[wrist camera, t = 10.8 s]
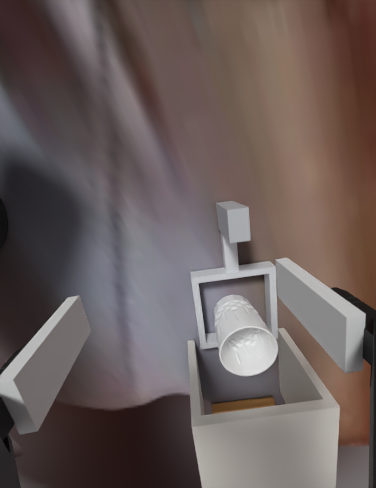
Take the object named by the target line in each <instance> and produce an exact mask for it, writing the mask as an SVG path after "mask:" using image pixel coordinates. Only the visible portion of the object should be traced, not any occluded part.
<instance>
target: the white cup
mask: <svg viewBox="0 0 376 488" xmlns="http://www.w3.org/2000/svg"><path fill="white" fill-rule="evenodd" d="M214 320H215V323H214V324H215V332H216V338H217V344H218V350H219V357H220V361H221V363H222V365H223V366H224V367H225V368H226V369H227V370H228V371H229V372H231V373H233V374H235V375H239V376H253V375H257V374H260V373H262V372H264V371H265V370H267V369H268V368H269V367H270V366H271V365H272V364H273V363H274V361H275V359H276V357H277V354H278V344H277V341H276V339H275V337H274V336H273V334H272V333H271V331H270V330H269V328H268V327H267V325H266V324H265V322H264V321H263V320H262V318H261V317H260V315H259V314H258V313H257V311H256V310H255V309H254V308H253V307H252V305H251V304H250V302H249V301H248V300H247V299H246V298H244V297H242V296H240V295H229V296H226V297H223V298H222V299H221V300H220V301H218V302H217V304H216V306H215V308H214Z"/></svg>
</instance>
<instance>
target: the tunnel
mask: <svg viewBox="0 0 376 488" xmlns="http://www.w3.org/2000/svg"><path fill="white" fill-rule="evenodd" d="M188 359H189V380H190V400H191V420H192V431H193V437H194V443H195V449H196V454H197V460H198V467H199V472H200V478H201V484H202V488H336V468H337V451H338V432H339V412H340V407H339V405H338V404H337V402H336V401H335V400H334V398H333V397H332V395H331V394H330V392H329V391H328V390H327V388H326V387H325V385H324V384H323V382H322V381H321V380H320V378H319V377H318V375H317V374H316V373H315V371H314V370H313V368H312V367H311V365H310V364H309V363H308V361H307V360H306V358H305V357H304V356H303V354H302V353H301V351H300V350H299V348H298V347H297V346H296V344H295V343H294V341H293V340H292V338H291V337H290V336H289V334H288V333H287V331H286V330H285V329H284V328H279V329H278V361H279V389H280V393H281V395H282V397H283V399H284V401H285V403H286V404H283V405H276V406H269V407H261V408H254V409H246V410H239V411H232V412H224V413H217V414H210V415H205V413H204V404H203V396H202V389H201V382H200V376H199V369H198V362H197V355H196V348H195V342H194V340H191V341H188Z"/></svg>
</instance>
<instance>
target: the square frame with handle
mask: <svg viewBox="0 0 376 488" xmlns="http://www.w3.org/2000/svg"><path fill="white" fill-rule="evenodd" d="M216 209H217V219H218V229H219V230H220V233H221V244H222V254H223V264H224V267H223V268H216V269H208V270H201V271H194V272H190V273H191V281H192V288H193V295H194V302H195V310H196V317H197V324H198V331H199V338H200V345H201V349H207V348H214V347H218V344H217V338H216V333H208V334H205V330H204V322H203V315H202V307H201V299H200V292H199V284H198V283H203V282H211V281H218V280H225V279H233V278H240V277H247V276H255V275H262V274H264V284H265V304H266V324H267V327H268V328H269V330H270V331H271V333H272V334H273V336H274V337H275V339H278V323H277V294H276V267H275V266H274V265H273V264H272V263H271V262H270V261H267V262H259V263H252V264H245V265H239V264H238V252H237V242H243V241H251V239H250V223H249V207H247V206H244V205H242V204H239V203H237V202H234V201H227V202H220V203H216Z"/></svg>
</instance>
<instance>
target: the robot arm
mask: <svg viewBox="0 0 376 488" xmlns="http://www.w3.org/2000/svg"><path fill="white" fill-rule="evenodd" d="M6 235H7V216H6V212H5V209H4V206H3V204H2V202H1V200H0V248H1V247H2V245H3V243H4V241H5V238H6ZM276 274H277V289H278V297H279V298H280V299H281V300H282V302H283V303H284V304H285V305H286V306H287V307H288V308H289V310H290V311H291V312H292V313H293V314H294V315H295V317H296V318H297V319H298V320H299V321H300V322H301V323H302V325H303V326H304V327H305V328H306V329H307V330H308V331H309V333H310V334H311V335H312V336H313V337H314V338H315V339H316V341H317V342H318V343H319V344H320V345H321V346H322V347H323V349H324V350H325V351H326V352H327V353H328V354H329V355H330V357H331V358H332V359H333V360H334V361H335V362H336V363H337V365H338V366H339V367H340V368H341V369H342V370H343V371H344V373H349V372H355V371H360V370H363V358H364V359H365V360H366V361H367V362H368V363H369V364H370V365H371V378H370V387H371V390H370V442H369V488H376V310H374V309H373V308H371V307H370V306H368V305H367V304H365V303H364V302H361V300H359V299H358V298H356V297H354V296H353V295H352V294H350V293H349V292H347V291H345V290H342V289H339V288H337V287H334V288H329V287H327V286H326V285H324V284H323V283H322V282H320V281H319V280H317V279H316V278H315V277H313V276H312V275H310V274H309V273H308V272H306V271H305V270H303V269H302V268H301V267H299V266H298V265H296V264H295V263H294V262H292V261H291V260H289V259H288V258H282V259H277V260H276ZM90 332H91V329H90V326H89V323H88V320H87V317H86V314H85V311H84V308H83V305H82V302H81V299H80V296H74V297H68V298H67V299H66V300H65V301H64V302H63V304H62V305H61V306H60V307H59V308H58V309H57V310H56V312H55V313H54V314H53V315H52V316H51V317H50V318H49V320H48V321H47V322H46V323H45V324H44V325H43V327H42V328H41V329H40V330H39V331H38V332H37V333H36V335H35V336H34V337H33V338H32V339H31V340H30V341H29V343H28V344H27V345H24V346H23V347H22V348H20V349H19V350H18V351H17V352H15V353H14V354H13V355H12V356H11V358H10V359H9V360H8V361H7V363H5V364H4V365H3V366H2V368H1V370H0V488H21V487H20V482H19V477H18V472H17V467H16V461H15V456H14V451H13V446H12V441H11V439H10V437H9V435H8V433H9V432H10V430H11V428H12V427H13V425H15V427H16V428H17V430H18V432H19V434H26V433H31V432H36V431H38V430H39V428H40V426H41V424H42V423H43V421H44V419H45V417H46V415H47V413H48V411H49V409H50V407H51V406H52V404H53V402H54V400H55V398H56V396H57V394H58V392H59V391H60V389H61V387H62V385H63V383H64V381H65V379H66V377H67V375H68V374H69V372H70V370H71V368H72V366H73V364H74V362H75V360H76V359H77V357H78V355H79V353H80V351H81V349H82V347H83V345H84V343H85V342H86V340H87V338H88V336H89V334H90Z"/></svg>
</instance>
